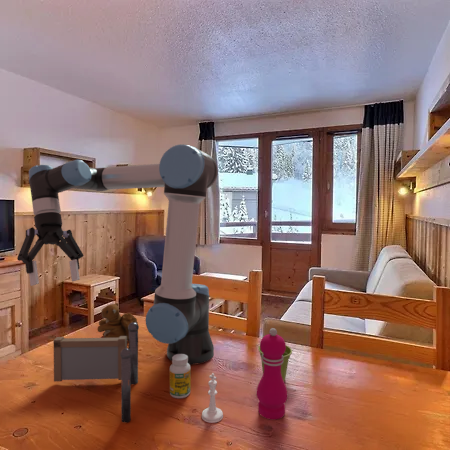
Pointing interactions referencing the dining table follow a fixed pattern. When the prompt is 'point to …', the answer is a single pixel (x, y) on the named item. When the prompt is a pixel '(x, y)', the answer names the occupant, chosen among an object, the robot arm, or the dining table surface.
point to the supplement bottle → (180, 376)
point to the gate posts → (129, 371)
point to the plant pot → (285, 361)
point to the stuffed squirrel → (115, 322)
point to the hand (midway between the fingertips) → (56, 282)
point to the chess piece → (212, 404)
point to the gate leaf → (88, 358)
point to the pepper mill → (272, 377)
